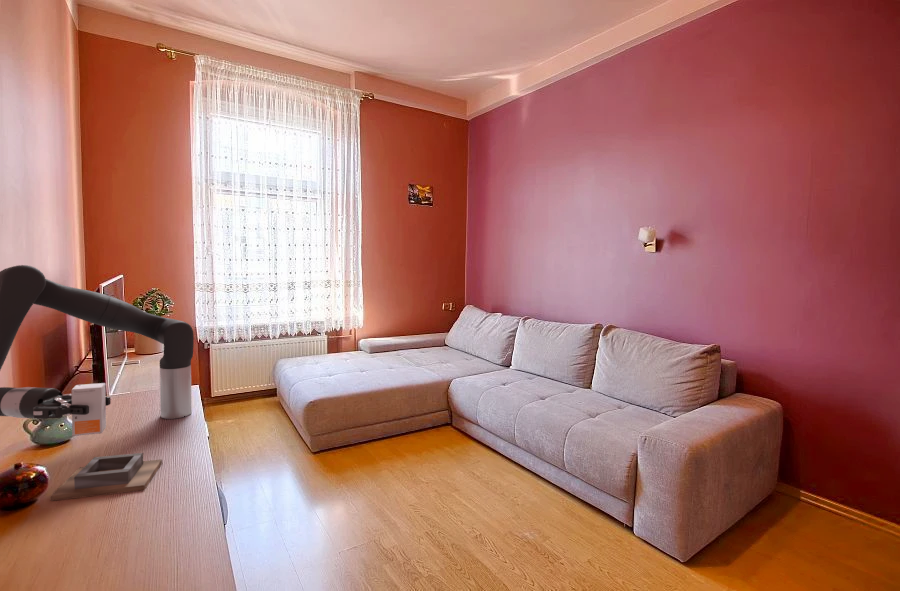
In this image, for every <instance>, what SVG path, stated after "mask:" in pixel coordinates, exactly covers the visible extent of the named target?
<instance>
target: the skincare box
mask: <svg viewBox="0 0 900 591" xmlns="http://www.w3.org/2000/svg"><path fill="white" fill-rule="evenodd" d="M106 386H107V385H106V382H101V383H100V382H99V383H87V384H76V385H74V387H73V388H72V389H71V394H72V405H88V406H89V413H88V414H86V415H76V414H72V415H71V431H72V432H71V434H72V437H78V436H89V435H95V434H96V435H98V434H99V435H100V434H103V432H104V431H105V430H106V429H107V428H106V427H107V408H106V407H107V406H106V396H107V395H106V393H107V392H106V389H107V388H106Z"/></svg>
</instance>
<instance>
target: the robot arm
mask: <svg viewBox="0 0 900 591" xmlns="http://www.w3.org/2000/svg"><path fill="white" fill-rule="evenodd" d="M33 305H37V306H42V307H46V308H49V309H52V310H55V311H58V312H60V313H63V314H66V315H68V316H71V317H73V318H76V319H79V320H82V321H85V322H88V323H90V324H94V325H98V326H101V327H104V328H107V329H111V330H112V329H113V330H117V331H122V332H129V333H135V334H139V335H142V336H144V337H146V338H149V339H150V340H151V339H152V340H154V341H156V342H159V343H160V344H162V345H163V356H162V357H161V358H160V359H159V396H160V397H159V398H160V399H159V400H160V401H159V403H160V407H159V408H160V410H159V411H160V418H162V419H167V420H172V419H173V420H174V419H180V418H185V417H187V416H190V415H191V414H192V359H193V358H194V357H193V356H194V345H195V344H194V339H195V338H194V337H195V336H194V330H193V327H192V326H191V325H190V324H189V323H188V322H186V321H183V320H179V319H176V318H175V319H173V318H168V317H165V316H160V315H156V314H152V313H148V312H146V311H144V310H142V309H140V308H139V307H137V306H134V305H133V304H132V303H129V302H126V301H124V300H121V299H119V298H116V297H113V296H110V295H107V294H104V293H101V292H96V291H91V290H87V289H83V288H78V287H71V286H67V285H65V284H64V285H63V284H61V283H58V282H55V281H53V280H51V279H47V278H46V276H45V275H44V273H43V272H42V271H41V270H40V269H38V268H36V267H35V266H31V265H26V264H24V265H23V264H20V265H19V264H18V265H15V266H14V265H13V266H11V267H7V268H4V269H2V270H1V271H0V371H1V370H2V367H3V365H4V363H5V362H6V359H7V357H8V354H9V352H10V350H11V347H12V345H13V342H14V340H15V338H16V335H17V334H18V331H19V329H20V327H21V326H22V323H23V321H24V319H25V318H26V316H27V314H28V312H29V311H30V309H31V308H32V306H33ZM111 403H112V402H111V397H110V396H107V395H106V407H107V406H110V405H112V404H111ZM88 413H89V406H88V405H72V393H66V394H65V393H64V394H63V393H62V392H61V391H60V390H59V388H58V389H57V388H55V387H37V386H36V387H35V386H33V387H31V386H25V387H11V386H10V387H5V386H3V387H0V417H10V418H11V417H12V418H17V419H40V420H49V419H61V418H63V416H67V417H68V416H72V414H76V415H86V414H88ZM184 416H185V417H184Z"/></svg>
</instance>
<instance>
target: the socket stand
mask: <svg viewBox="0 0 900 591" xmlns="http://www.w3.org/2000/svg"><path fill="white" fill-rule="evenodd" d="M162 465H163V459H162V458H161V459H153V460H144V452H137V453H128V454H127V453H125V454H116V455H115V454H114V455H105V456H94V457H93V458H92V459H91V460H90V461H89V462H88V463H87V464H85V466H80V467H79V468H78V469H77V470H76V471H75V472H74V473H73V474H72V475H71V476H69V477H68V478H67V479H66V480H65V481H64V482H63V483H61V485H60V486H59V487H58V488H57V489H55V491H53V492H52V494H51V495H50V501H51V502H52V501H60V500H61V501H62V500H69V499H79V498H86V497H94V496H95V497H96V496H104V495H112V494H121V493H129V492H130V493H131V492H137V491H145V490H146V488H147V487H148V485H149V483H151V481H152V479H153V478H154V476H155V475H156V473H157V472H158V470H159V469H160V467H161V466H162Z"/></svg>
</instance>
